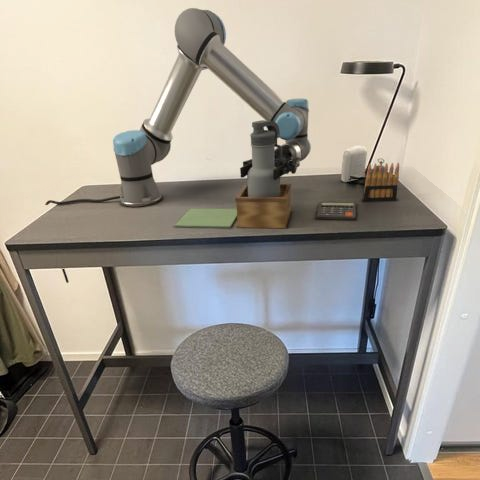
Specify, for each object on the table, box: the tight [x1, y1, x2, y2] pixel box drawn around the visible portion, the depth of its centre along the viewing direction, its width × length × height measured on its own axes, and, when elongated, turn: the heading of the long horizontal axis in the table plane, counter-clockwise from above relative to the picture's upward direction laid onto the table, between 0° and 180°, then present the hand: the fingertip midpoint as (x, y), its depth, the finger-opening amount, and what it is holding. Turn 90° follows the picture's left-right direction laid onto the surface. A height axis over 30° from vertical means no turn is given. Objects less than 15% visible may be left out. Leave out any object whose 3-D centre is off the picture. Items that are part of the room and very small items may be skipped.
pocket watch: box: [371, 158, 389, 182], centre depth 145 cm, size 8×8×10 cm
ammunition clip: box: [362, 162, 400, 202], centre depth 131 cm, size 11×2×12 cm, turn 85°
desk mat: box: [174, 208, 237, 229], centre depth 129 cm, size 18×16×1 cm
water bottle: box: [246, 119, 282, 197], centre depth 117 cm, size 10×10×28 cm
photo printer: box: [340, 145, 368, 183], centre depth 153 cm, size 10×4×12 cm, turn 123°
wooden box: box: [234, 183, 292, 229], centre depth 122 cm, size 15×15×9 cm
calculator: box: [315, 200, 357, 221], centre depth 127 cm, size 12×1×15 cm
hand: (257, 173), depth 113 cm, fingers closed on water bottle, 10 cm apart
